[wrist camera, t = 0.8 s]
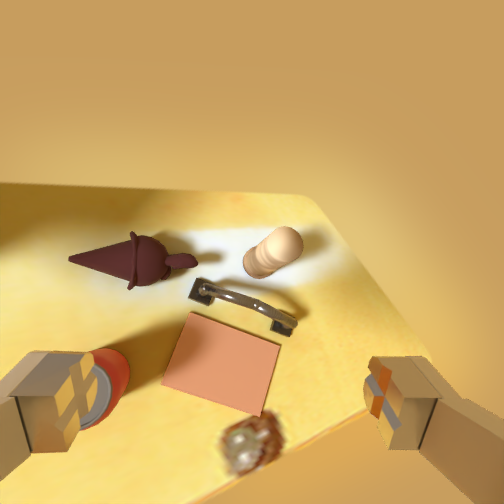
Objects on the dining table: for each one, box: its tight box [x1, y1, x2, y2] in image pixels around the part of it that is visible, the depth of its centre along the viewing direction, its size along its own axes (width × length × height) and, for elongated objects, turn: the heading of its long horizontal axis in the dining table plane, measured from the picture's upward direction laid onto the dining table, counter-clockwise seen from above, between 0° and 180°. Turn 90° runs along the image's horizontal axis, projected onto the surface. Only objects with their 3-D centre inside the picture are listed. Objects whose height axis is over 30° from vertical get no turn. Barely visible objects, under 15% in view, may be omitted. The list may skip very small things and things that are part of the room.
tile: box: [161, 312, 280, 417], centre depth 40 cm, size 14×10×1 cm
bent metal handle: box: [188, 278, 298, 337], centre depth 40 cm, size 16×3×7 cm, turn 71°
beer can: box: [79, 348, 130, 431], centre depth 30 cm, size 7×7×12 cm
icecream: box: [68, 231, 198, 290], centre depth 37 cm, size 7×7×15 cm
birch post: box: [243, 226, 303, 279], centre depth 41 cm, size 5×5×11 cm
